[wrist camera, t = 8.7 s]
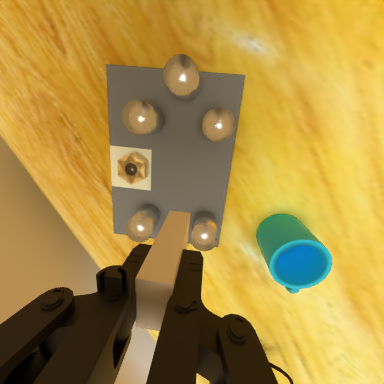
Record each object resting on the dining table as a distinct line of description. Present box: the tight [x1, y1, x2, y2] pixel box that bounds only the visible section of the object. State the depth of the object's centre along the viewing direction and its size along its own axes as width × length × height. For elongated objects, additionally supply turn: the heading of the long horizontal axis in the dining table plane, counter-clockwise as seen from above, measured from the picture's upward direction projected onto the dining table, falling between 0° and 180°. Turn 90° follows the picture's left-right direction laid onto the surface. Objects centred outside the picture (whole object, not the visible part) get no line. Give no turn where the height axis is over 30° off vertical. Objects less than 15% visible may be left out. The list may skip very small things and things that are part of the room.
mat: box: [106, 64, 245, 247], centre depth 32 cm, size 28×20×1 cm
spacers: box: [122, 54, 235, 251], centre depth 28 cm, size 28×14×6 cm, turn 175°
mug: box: [256, 214, 332, 293], centre depth 30 cm, size 12×8×8 cm
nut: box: [117, 152, 149, 185], centre depth 31 cm, size 5×4×2 cm
